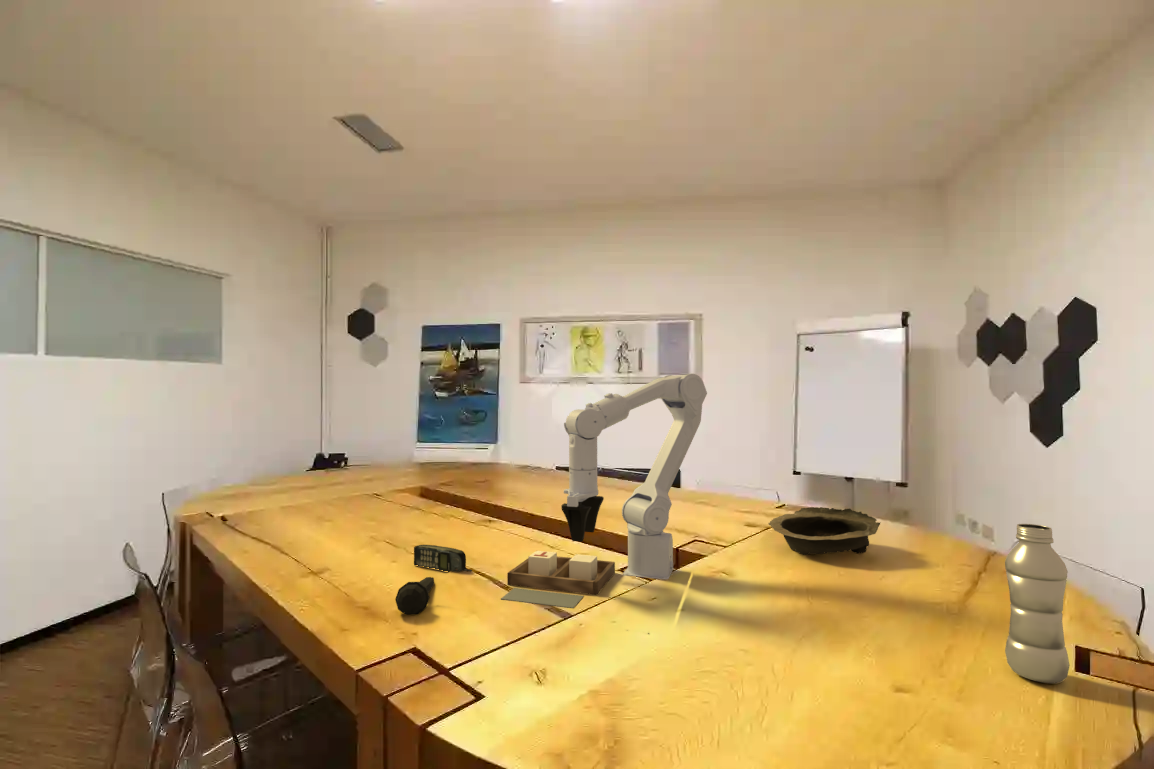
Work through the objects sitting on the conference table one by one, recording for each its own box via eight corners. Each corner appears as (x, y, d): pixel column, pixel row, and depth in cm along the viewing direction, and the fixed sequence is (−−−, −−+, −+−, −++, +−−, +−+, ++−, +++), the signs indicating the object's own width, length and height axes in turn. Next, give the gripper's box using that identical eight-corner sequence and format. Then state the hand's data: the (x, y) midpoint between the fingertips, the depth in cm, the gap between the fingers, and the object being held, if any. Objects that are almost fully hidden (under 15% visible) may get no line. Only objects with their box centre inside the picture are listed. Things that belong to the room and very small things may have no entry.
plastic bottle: (993, 666, 76) (990, 521, 76) (1038, 664, 76) (1035, 520, 77) (1035, 691, 69) (1032, 533, 70) (1084, 689, 70) (1081, 532, 70)
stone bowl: (883, 545, 138) (883, 508, 137) (876, 581, 117) (876, 538, 116) (781, 531, 151) (780, 497, 151) (758, 560, 130) (757, 522, 129)
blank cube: (597, 578, 112) (597, 556, 112) (591, 585, 107) (590, 562, 108) (576, 576, 113) (576, 554, 113) (569, 583, 109) (569, 560, 109)
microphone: (423, 597, 112) (397, 625, 92) (415, 569, 112) (388, 591, 93) (449, 588, 112) (429, 613, 92) (441, 560, 113) (419, 580, 93)
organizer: (614, 575, 115) (614, 561, 115) (597, 597, 102) (597, 582, 102) (533, 566, 121) (533, 554, 121) (507, 587, 108) (507, 572, 108)
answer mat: (583, 599, 102) (583, 595, 102) (573, 611, 96) (573, 607, 96) (514, 590, 106) (514, 587, 106) (500, 601, 100) (500, 598, 100)
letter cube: (556, 574, 114) (556, 551, 115) (549, 580, 110) (549, 557, 110) (536, 572, 116) (536, 550, 116) (528, 578, 112) (528, 555, 112)
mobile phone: (411, 545, 122) (465, 552, 115) (420, 542, 124) (474, 548, 118) (411, 568, 122) (465, 576, 115) (421, 564, 124) (474, 572, 117)
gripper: (575, 463, 119) (575, 526, 119) (552, 472, 105) (552, 543, 105) (607, 465, 117) (607, 529, 116) (587, 474, 103) (587, 546, 103)
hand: (583, 536), depth 111 cm, fingers open, 7 cm apart
